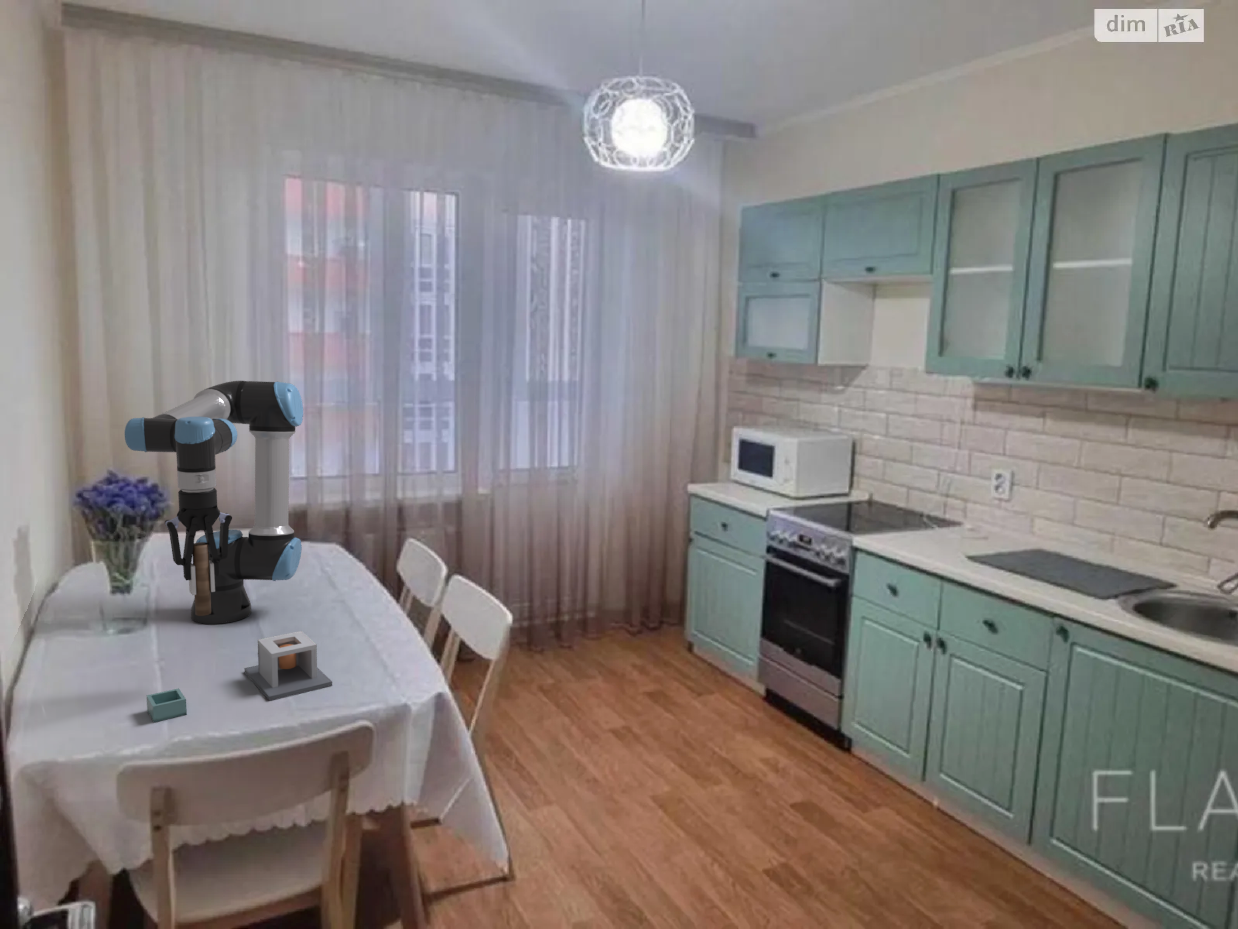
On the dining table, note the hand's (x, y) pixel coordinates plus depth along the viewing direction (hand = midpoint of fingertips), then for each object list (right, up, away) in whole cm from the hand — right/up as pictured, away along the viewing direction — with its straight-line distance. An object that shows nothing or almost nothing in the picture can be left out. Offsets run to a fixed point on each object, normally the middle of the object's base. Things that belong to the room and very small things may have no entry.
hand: (202, 591), depth 190 cm
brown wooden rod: (0, -5, +1) cm, 5 cm away
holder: (-2, -24, -10) cm, 26 cm away
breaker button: (+16, -18, +8) cm, 26 cm away
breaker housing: (+16, -21, +8) cm, 28 cm away
